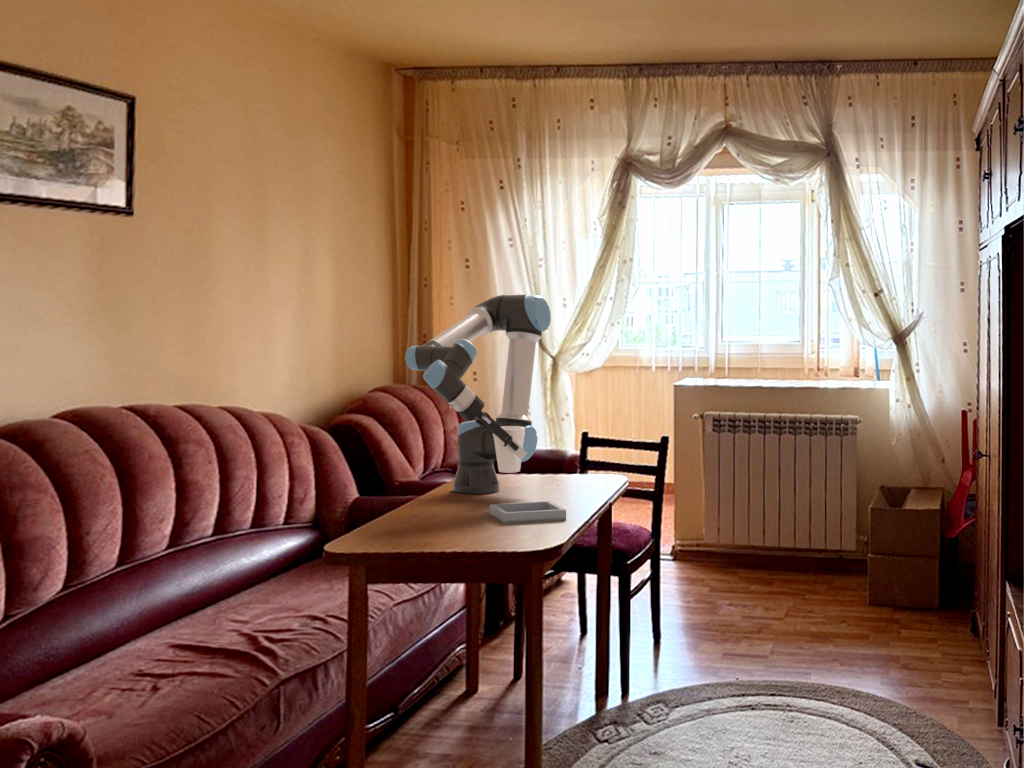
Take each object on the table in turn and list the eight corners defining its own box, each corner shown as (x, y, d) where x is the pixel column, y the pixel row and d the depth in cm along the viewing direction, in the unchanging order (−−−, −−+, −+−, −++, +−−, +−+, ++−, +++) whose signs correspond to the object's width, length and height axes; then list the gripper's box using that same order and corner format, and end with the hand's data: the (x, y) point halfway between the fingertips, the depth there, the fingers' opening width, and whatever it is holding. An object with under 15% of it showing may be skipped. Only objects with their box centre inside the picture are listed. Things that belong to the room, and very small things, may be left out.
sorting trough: (489, 514, 328) (489, 504, 328) (549, 511, 333) (549, 501, 333) (504, 524, 313) (504, 513, 313) (566, 520, 318) (566, 509, 318)
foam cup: (521, 473, 334) (520, 430, 333) (490, 473, 336) (490, 429, 335) (527, 468, 343) (527, 426, 342) (497, 468, 345) (496, 425, 344)
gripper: (449, 409, 345) (500, 458, 350) (467, 416, 323) (521, 468, 329) (466, 391, 346) (517, 440, 351) (485, 397, 324) (538, 449, 330)
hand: (519, 454), depth 340 cm, fingers closed on foam cup, 9 cm apart
